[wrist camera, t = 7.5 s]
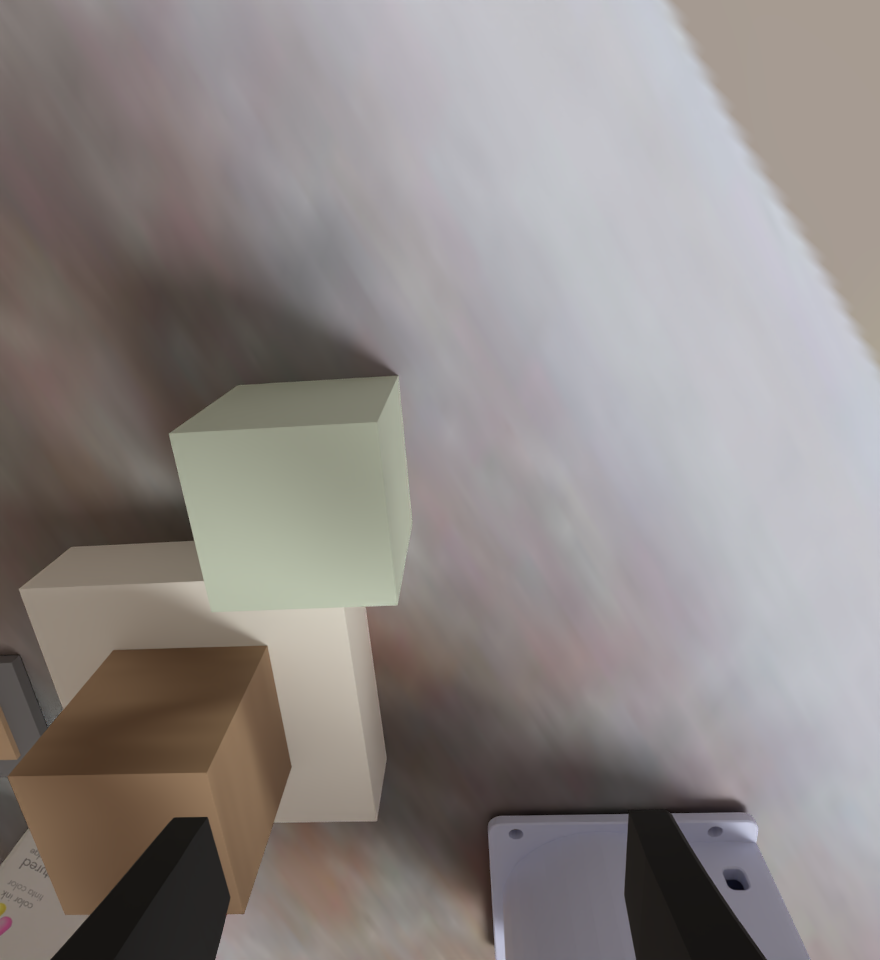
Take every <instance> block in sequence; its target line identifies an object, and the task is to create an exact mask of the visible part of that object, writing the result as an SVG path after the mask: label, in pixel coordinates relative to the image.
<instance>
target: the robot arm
mask: <svg viewBox="0 0 880 960" xmlns="http://www.w3.org/2000/svg"><path fill="white" fill-rule="evenodd" d="M513 829H517V830H513ZM757 835H758V825H757V823H756V821H755V819H754V818H753V816H752V815H750V814H748V813H743V812H729V813H669V812H668V811H667V810H629V814H592V815H524V816H497V817H495V818H493V819H491V820H490V821H489V823H488V840H489V857H490V875H491V892H492V910H493V927H494V945H495V959H496V960H811V959H810V957H809V955H808V953H807V950H806V948H805V946H804V944H803V942H802V940H801V938H800V935H799V933H798V931H797V929H796V927H795V925H794V923H793V920H792V918H791V916H790V914H789V912H788V910H787V907H786V905H785V903H784V901H783V899H782V897H781V895H780V892H779V890H778V888H777V886H776V884H775V882H774V880H773V877H772V875H771V873H770V871H769V869H768V867H767V865H766V862H765V860H764V858H763V856H762V854H761V852H760V850H759V847H758V845H757V844H756V841H757ZM230 898H231V897H230V893H229V890H228V886H227V883H226V879H225V876H224V872H223V869H222V865H221V862H220V858H219V855H218V851H217V848H216V844H215V841H214V837H213V833H212V830H211V826H210V823H209V819H208V817H174V818H173V819H172V820H171V821H170V822H169V823H168V824H167V825H166V827H165V828H164V829H163V830H162V831H161V832H160V834H159V835H158V836H157V837H156V838H155V839H154V841H153V842H152V843H151V844H150V845H149V847H148V848H147V849H146V850H145V851H144V852H143V854H142V855H141V856H140V857H139V858H138V860H137V861H136V862H135V863H134V864H133V865H132V867H131V868H130V869H129V870H128V871H127V873H126V874H125V875H124V876H123V877H122V878H121V880H120V881H119V882H118V883H117V884H116V885H115V887H114V888H113V889H112V890H111V891H110V892H109V894H108V895H107V896H106V897H105V898H104V900H103V901H102V902H101V903H100V904H99V905H98V906H97V908H96V909H95V910H94V911H93V912H92V913H91V914H90V915H89V917H88V918H87V919H86V920H85V921H84V922H83V923H82V925H81V926H80V927H79V928H78V929H77V930H76V931H75V932H74V934H73V935H72V936H71V937H70V938H69V939H68V940H67V942H66V943H65V944H64V945H63V946H62V947H61V948H60V949H59V951H58V952H57V953H56V954H55V955H54V956H53V957H52V958H51V959H50V960H215V958H216V954H217V950H218V946H219V943H220V939H221V935H222V931H223V927H224V923H225V919H226V915H227V910H228V906H229V902H230Z"/></svg>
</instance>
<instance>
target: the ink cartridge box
mask: <svg viewBox="0 0 880 960" xmlns="http://www.w3.org/2000/svg"><path fill="white" fill-rule="evenodd" d="M88 917H89V915H65V914H64V911H63V909H62V906H61V904H60V902H59V899H58V897H57V894H56V892H55V890H54V887H53V885H52V882H51V880H50V878H49V875H48V873H47V870H46V868H45V866H44V863H43V861H42V858H41V856H40V854H39V851H38V849H37V846H36V844H35V842H34V839H33V837H32V834H31V832H30V830H29V828H28V829H27V831H26V832H25V833H24V835H23V836H22V837H21V838H20V840H19V841H18V842H17V844H16V845H15V846H14V848H13V849H12V851H11V852H10V853H9V855H8V856H7V857H6V859H5V860H4V861H3V863H2V864H1V865H0V960H50V959H51V958H52V957H53V956H54V955H55V954H56V953H57V952H58V951H59V949H60V948H61V947H62V946H63V945H64V944H65V943H66V942H67V940H68V939H69V938H70V937H71V936H72V935H73V934H74V932H75V931H76V930H77V929H78V928H79V927H80V926H81V925H82V923H83V922H84V921H85V920H86V919H87V918H88Z"/></svg>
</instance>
